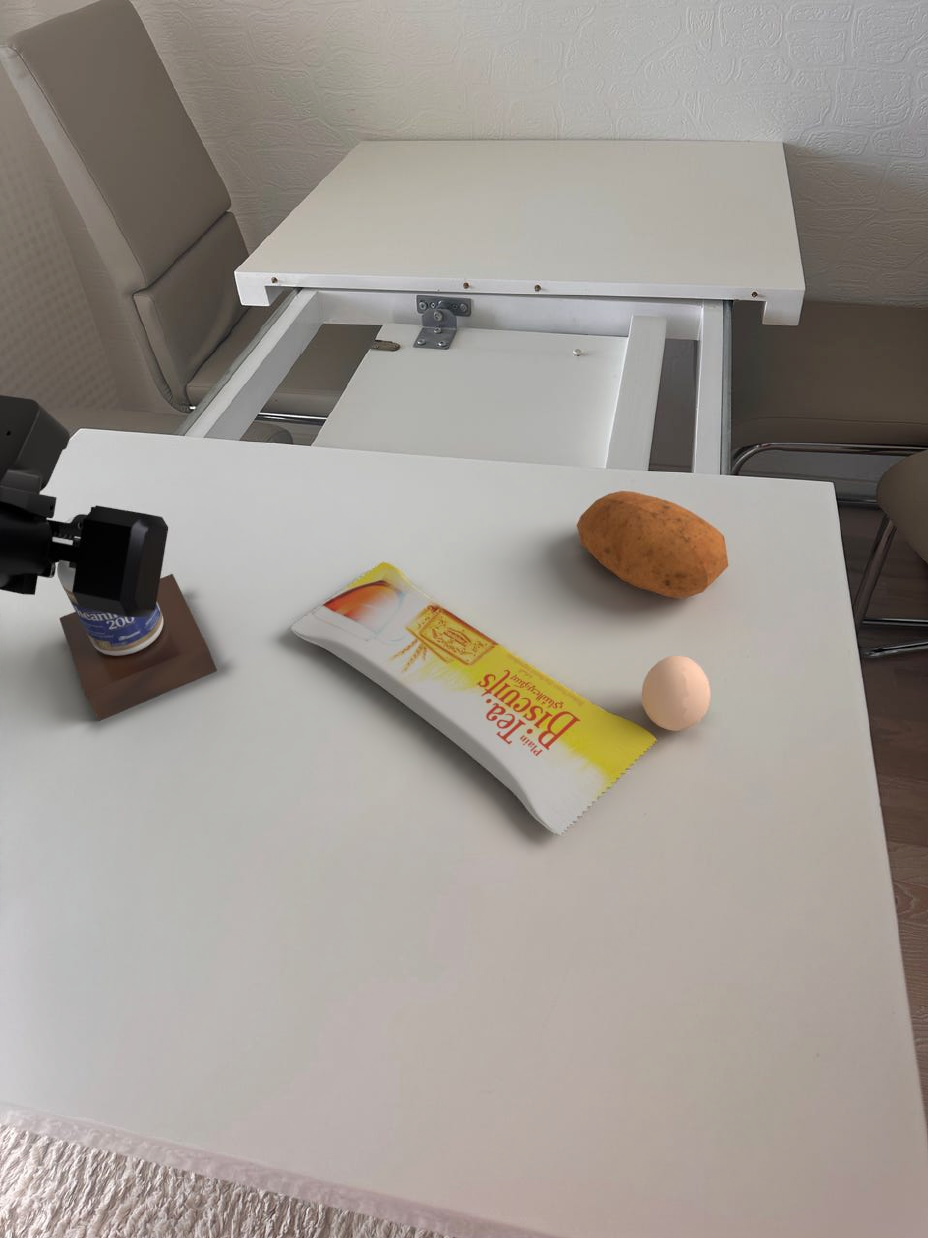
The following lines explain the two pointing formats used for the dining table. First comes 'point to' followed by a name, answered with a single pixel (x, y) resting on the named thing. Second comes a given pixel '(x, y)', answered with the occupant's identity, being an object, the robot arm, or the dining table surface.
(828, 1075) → the dining table surface
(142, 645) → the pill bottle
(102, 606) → the robot arm
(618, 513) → the potato
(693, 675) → the egg
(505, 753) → the food package
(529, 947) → the dining table surface
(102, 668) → the walnut block
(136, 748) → the dining table surface
